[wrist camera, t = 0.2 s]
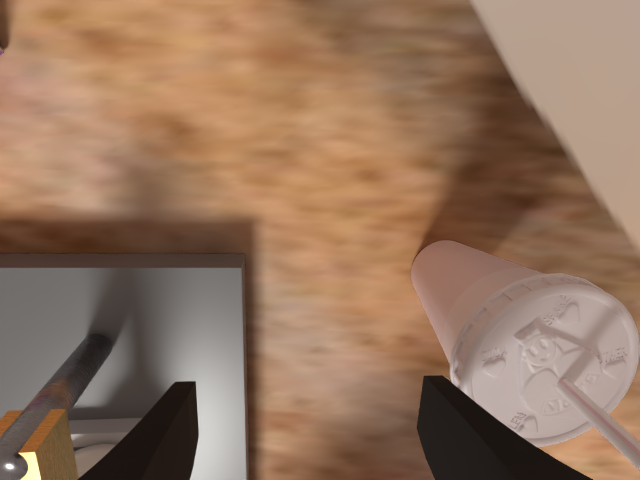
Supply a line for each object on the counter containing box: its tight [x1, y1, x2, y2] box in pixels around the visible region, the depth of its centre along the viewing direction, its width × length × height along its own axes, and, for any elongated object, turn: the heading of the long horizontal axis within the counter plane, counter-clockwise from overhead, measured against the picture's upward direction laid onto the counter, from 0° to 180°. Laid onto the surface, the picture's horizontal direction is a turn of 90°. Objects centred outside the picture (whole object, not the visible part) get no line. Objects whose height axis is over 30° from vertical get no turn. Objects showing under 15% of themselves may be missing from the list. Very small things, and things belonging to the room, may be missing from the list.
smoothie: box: [411, 240, 640, 471], centre depth 16 cm, size 6×6×14 cm
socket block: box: [0, 253, 249, 480], centre depth 22 cm, size 20×14×3 cm
